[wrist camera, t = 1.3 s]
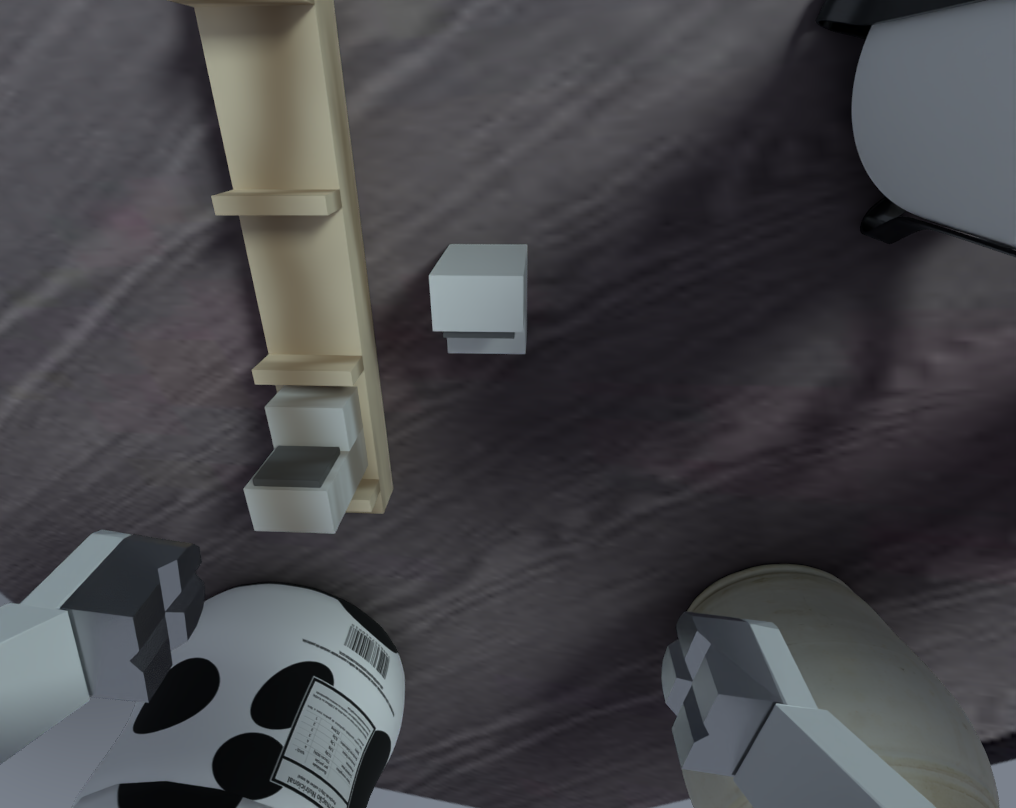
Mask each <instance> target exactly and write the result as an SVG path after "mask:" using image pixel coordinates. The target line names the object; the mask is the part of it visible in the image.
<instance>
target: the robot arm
mask: <svg viewBox="0 0 1016 808" xmlns="http://www.w3.org/2000/svg"><path fill="white" fill-rule="evenodd" d="M201 563H202V560H201V554H200V547H199V546H197V545H195V544H191V543H185V542H179V541H173V540H167V539H161V538H154V537H148V536H142V535H136V534H133V535H132V534H126V533H120V532H114V531H108V530H100V531H97V532H95V533H92V534H91V535H90V536H89V537H88V538H86V539H85V540H84V541H83V542H82V543H81V544H80V545H79V546H78V547H77V548H76V549H75V550H74V551H73V552H72V553H71V554H70V555H69V556H68V557H67V558H66V559H65V560H64V561H63V562H62V563H61V564H60V565H59V566H58V567H57V568H56V569H55V570H54V571H53V572H52V573H51V574H50V575H49V576H48V577H47V578H46V579H45V580H44V581H43V582H41V583H40V584H39V585H38V586H37V587H36V588H35V589H34V590H33V591H32V592H31V593H30V594H29V595H28V596H27V597H26V598H25V599H24V600H23V601H22V602H21V603H20V604H14V603H8V604H5V605H3V606H1V607H0V764H2V763H3V762H5V761H6V760H7V759H9V758H10V757H12V756H13V755H15V754H16V753H17V752H19V751H20V750H21V749H23V748H24V747H26V746H27V745H29V744H30V743H31V742H33V741H34V740H36V739H37V738H38V737H39V736H41V735H42V734H44V733H45V732H47V731H48V730H50V729H51V728H52V727H54V726H55V725H57V724H58V723H59V722H61V721H62V720H64V719H65V718H66V717H68V716H69V715H71V714H72V713H73V712H75V711H76V710H78V709H79V708H80V707H82V706H83V705H85V704H86V703H87V702H89V701H90V697H95V698H105V699H116V700H126V701H137V702H147V703H149V701H150V700H151V698H152V697H153V695H154V693H155V692H156V690H157V689H158V687H159V686H160V684H161V683H162V681H163V679H164V678H165V676H166V675H167V673H168V672H169V670H170V668H171V667H172V665H173V664H172V656H171V651H172V650H174V649H176V648H177V647H179V646H180V645H182V644H184V643H185V642H187V641H188V640H189V638H190V636H191V635H192V633H193V631H194V630H195V628H196V627H197V624H198V621H199V619H200V616H201V613H202V610H203V607H204V598H205V588H204V582H203V581H202V580H201V579H200V578H199V577H198V576H197V575H196V573H195V572H196V570H197V569H198V567H199V566H200V564H201ZM676 631H677V634H678V638H679V639H677V640H676V641H674V642H673V643H671V644H669V645H668V647H667V650H666V653H665V655H664V658H663V665H662V675H661V677H662V689H663V693H664V698H665V703H666V704H667V705H668V707H669V708H670V709H671V710H672V711H673V712H674V713H675V714H676V716H677V718H676V720H675V722H674V725H673V727H672V732H673V736H674V740H675V745H676V749H677V753H678V757H679V761H680V765H681V769H685V770H691V771H698V772H704V773H711V774H717V775H724V776H730V777H734V778H733V781H734V782H735V783H736V785H737V786H738V787H739V789H740V790H741V791H742V793H743V794H744V796H745V797H746V798H747V800H748V801H749V802H750V804H751V805H752V806H753V808H936V807H935V806H934V805H933V804H932V803H931V802H930V801H928V800H927V799H926V798H925V797H924V796H923V795H922V794H921V793H919V792H918V791H917V790H916V789H915V788H914V787H913V786H912V785H910V784H909V783H908V782H907V781H906V780H905V779H904V778H903V777H901V776H900V775H899V774H898V773H897V772H896V771H895V770H894V769H893V768H891V767H890V766H889V765H888V764H887V763H886V762H885V761H884V760H882V759H881V758H880V757H879V756H878V755H877V754H876V753H875V752H873V751H872V750H871V749H870V748H869V747H868V746H867V745H866V744H865V743H863V742H862V741H861V740H860V739H859V738H858V737H857V736H856V735H854V734H853V733H852V732H851V731H850V730H849V729H848V728H847V727H845V726H844V725H843V724H842V723H841V722H840V721H839V720H838V719H836V718H835V717H834V716H833V715H832V714H831V713H830V712H829V711H828V710H822V709H818V707H817V705H816V703H815V701H814V699H813V697H812V695H811V693H810V691H809V689H808V687H807V685H806V683H805V681H804V679H803V677H802V675H801V673H800V671H799V669H798V667H797V665H796V663H795V661H794V659H793V657H792V655H791V653H790V651H789V649H788V647H787V645H786V643H785V641H784V639H783V637H782V635H781V633H780V631H779V629H778V627H777V626H776V625H775V624H773V623H772V622H766V621H758V620H750V619H740V618H733V617H725V616H718V615H710V614H702V613H694V612H686V611H685V612H684V613H683V614H682V615H681V616H680V618H679V620H678V622H677V625H676Z"/></svg>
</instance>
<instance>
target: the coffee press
mask: <svg viewBox="0 0 1016 808" xmlns="http://www.w3.org/2000/svg"><path fill="white" fill-rule="evenodd" d="M816 23H817V24H818V25H820V26H822V27H823V28H826V29H828V30H831V31H834V32H838V33H842V34H846V35H851V36H855V37H859V38H863V39H866V41H865V43H864V46H863V49H862V52H861V55H860V58H859V62H858V66H857V70H856V74H855V79H854V85H853V93H852V127H853V134H854V139H855V144H856V147H857V151H858V154H859V157H860V159H861V162H862V164H863V166H864V168H865V170H866V172H867V174H868V175H869V177H870V178H871V180H872V181H873V183H874V184H875V185H876V186H877V188H878V189H879V190H880V191H881V192H882V193H883V194H884V195H885V196H886V197H884V198H883V199H882V200H880V201H879V202H877V203H876V204H875V205H874V206H872V207H871V208H870V209H869V211H868V212H867V213H866V215H865V216H864V218H863V220H862V222H861V226H860V231H861V233H862V234H864V235H866V236H869V237H872V238H874V239H877V240H879V241H882V242H884V243H887V244H892V243H894V242H896V241H898V240H900V239H902V238H904V237H906V236H908V235H910V234H912V233H915V232H917V231H921V230H932V231H937V232H940V233H944V234H947V235H950V236H953V237H956V238H959V239H962V240H965V241H968V242H971V243H974V244H977V245H980V246H983V247H986V248H989V249H992V250H995V251H998V252H1001V253H1004V254H1007V255H1010V256H1013V257H1016V251H1015V250H1012V249H1016V0H826V1H825V3H824V5H823V7H822V9H821V11H820V13H819V15H818V17H817V19H816ZM906 211H908V212H910V213H912V214H914V215H916V216H918V217H921V218H923V219H926V220H929V221H931V222H934V223H937V224H940V225H943V226H946V227H949V228H952V229H955V230H958V231H961V232H964V233H967V234H970V235H973V236H976V237H972V236H969V235H965V234H962V233H959V232H956V231H953V230H950V229H947V228H944V227H940V226H937V225H934V224H931V223H928V222H924V221H921V220H918V219H914V218H910V217H903V216H901V217H898V216H900V215H901V214H903V213H904V212H906ZM977 237H979V238H977Z"/></svg>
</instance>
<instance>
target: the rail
mask: <svg viewBox="0 0 1016 808" xmlns="http://www.w3.org/2000/svg"><path fill="white" fill-rule="evenodd" d="M168 1H172V2H176V3H180V4H184V5H188V6H191V7H194V9H195V14H196V19H197V23H198V28H199V33H200V37H201V42H202V47H203V51H204V56H205V60H206V65H207V70H208V74H209V79H210V84H211V88H212V93H213V98H214V102H215V107H216V112H217V116H218V121H219V126H220V130H221V135H222V139H223V144H224V149H225V153H226V158H227V163H228V167H229V172H230V177H231V181H232V186H233V190H230V191H227V192H223V193H220V194H216V195H213V196H211V197H212V202H213V206H214V210H215V215H239V218H240V223H241V228H242V232H243V237H244V242H245V246H246V251H247V256H248V260H249V265H250V270H251V274H252V279H253V284H254V288H255V293H256V297H257V302H258V307H259V311H260V316H261V321H262V325H263V330H264V335H265V339H266V344H267V349H268V353H269V354H268V355H267V356H266V357H265V358H264V359H263V360H262V361H261V362H260V363H259V364H258V365H257V366H255V367H254V368H253V369H252V373H253V378H254V382H255V384H256V385H275V386H276V390H277V394H276V395H275V396H274V397H273V398H272V399H271V400H270V402H269V403H268V404H267V405H266V406H265V411H266V415H267V420H268V424H269V429H270V433H271V437H272V442H273V446H274V450H273V452H272V453H271V454H270V455H269V457H268V458H267V459H266V461H265V462H264V463H263V464H262V466H261V467H260V468H259V470H258V471H257V472H256V473H255V475H254V476H253V477H252V479H251V480H250V481H249V482H248V484H247V485H246V486H245V488H244V493H245V497H246V501H247V504H248V508H249V512H250V516H251V519H252V523H253V527H254V531H273V532H304V533H334V534H335V532H336V530H337V528H338V526H339V524H340V522H341V520H342V518H343V516H344V514H345V512H346V513H379V514H384V511H385V509H386V506H387V504H388V501H389V499H390V496H391V494H392V491H393V483H392V475H391V466H390V458H389V450H388V442H387V434H386V426H385V417H384V409H383V401H382V393H381V385H380V377H379V368H378V360H377V352H376V344H375V336H374V328H373V319H372V311H371V303H370V295H369V287H368V279H367V271H366V262H365V254H364V246H363V238H362V230H361V222H360V213H359V205H358V197H357V189H356V181H355V173H354V164H353V156H352V148H351V140H350V132H349V124H348V115H347V107H346V99H345V91H344V83H343V75H342V66H341V58H340V50H339V42H338V34H337V26H336V17H335V9H334V1H333V0H168Z"/></svg>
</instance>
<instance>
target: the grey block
mask: <svg viewBox="0 0 1016 808" xmlns="http://www.w3.org/2000/svg"><path fill="white" fill-rule="evenodd" d="M429 286H430V299H431V313H432V327H433V331H443V338H447V347H448V353H480V354H525V353H526V342H527V244H449V246H448V247H447V249H446V250H445V252H444V253H443V255H442V256H441V258H440V259H439V261H438V262H437V264H436V265H435V267H434V268H433V270H432V271H431V273H430V274H429Z"/></svg>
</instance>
